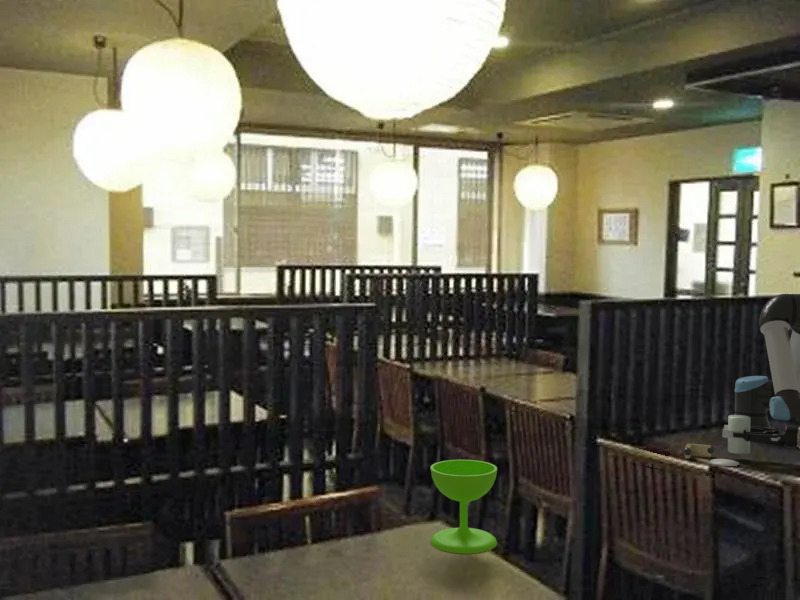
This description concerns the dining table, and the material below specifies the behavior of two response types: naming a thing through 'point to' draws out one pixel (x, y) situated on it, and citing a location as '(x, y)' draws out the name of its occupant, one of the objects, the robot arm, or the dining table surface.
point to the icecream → (655, 449)
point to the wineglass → (463, 503)
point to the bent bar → (698, 450)
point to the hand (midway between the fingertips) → (723, 431)
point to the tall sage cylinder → (739, 424)
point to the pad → (724, 462)
